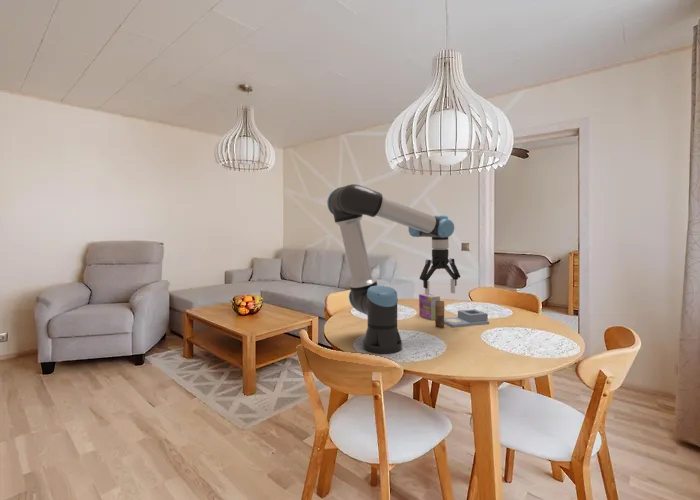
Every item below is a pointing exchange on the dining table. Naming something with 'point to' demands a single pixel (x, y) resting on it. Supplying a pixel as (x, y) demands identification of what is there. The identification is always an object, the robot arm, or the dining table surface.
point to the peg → (439, 314)
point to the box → (427, 305)
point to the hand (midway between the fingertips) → (440, 294)
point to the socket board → (464, 323)
